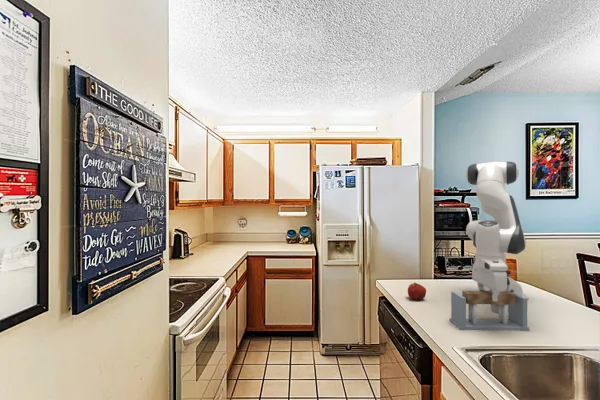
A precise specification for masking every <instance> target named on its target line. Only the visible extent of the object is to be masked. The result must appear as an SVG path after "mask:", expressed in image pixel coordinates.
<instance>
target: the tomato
mask: <svg viewBox="0 0 600 400" xmlns="http://www.w3.org/2000/svg"><path fill="white" fill-rule="evenodd" d="M426 294H427V289H426V287H424V285H422V284H419V283H416V282H413V283H410V284H409V286H408V287H407V295H408V297H409V298H410V299H412V300H416V301H417V300H419V301H421V300H424V299H425V298H426Z"/></svg>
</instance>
